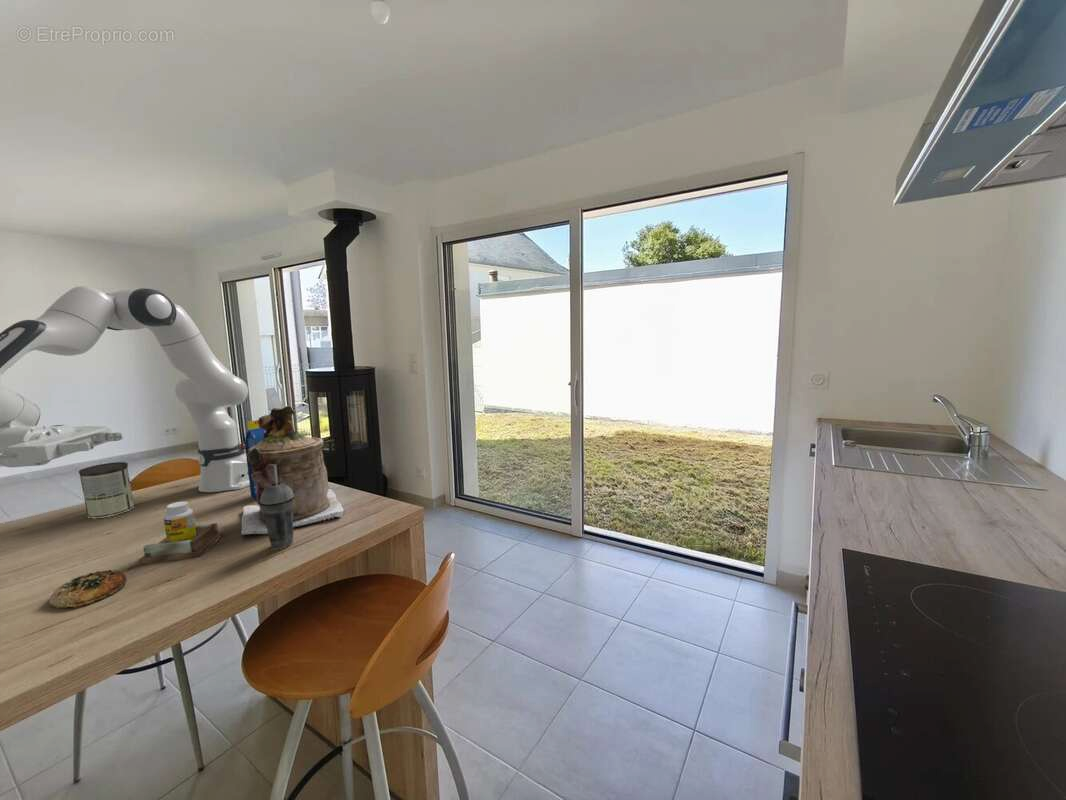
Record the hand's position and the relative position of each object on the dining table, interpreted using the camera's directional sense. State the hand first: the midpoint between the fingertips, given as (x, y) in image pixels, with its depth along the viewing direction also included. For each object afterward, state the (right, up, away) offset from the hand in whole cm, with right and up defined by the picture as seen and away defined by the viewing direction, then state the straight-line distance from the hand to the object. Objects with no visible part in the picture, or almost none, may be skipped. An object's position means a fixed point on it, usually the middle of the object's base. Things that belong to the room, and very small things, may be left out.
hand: (106, 441), depth 98 cm
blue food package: (+12, -22, +45) cm, 51 cm away
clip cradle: (+13, -27, +6) cm, 30 cm away
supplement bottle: (+12, -26, +6) cm, 29 cm away
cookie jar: (+28, -24, +26) cm, 45 cm away
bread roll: (+9, -30, -12) cm, 33 cm away
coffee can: (-29, -25, +31) cm, 49 cm away
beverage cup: (+36, -26, +7) cm, 45 cm away
